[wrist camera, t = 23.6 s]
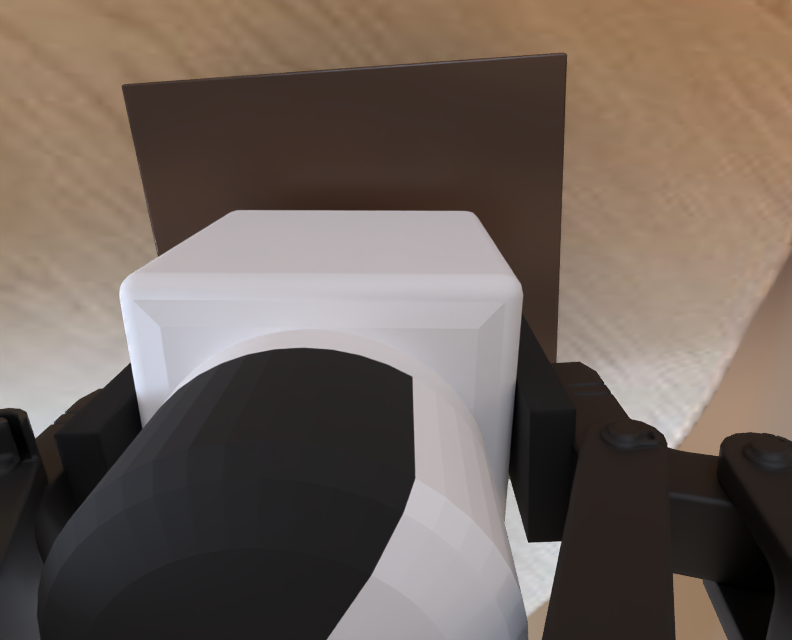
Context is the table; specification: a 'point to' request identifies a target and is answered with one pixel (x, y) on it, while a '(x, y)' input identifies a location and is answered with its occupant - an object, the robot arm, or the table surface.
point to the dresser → (369, 152)
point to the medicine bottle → (307, 440)
